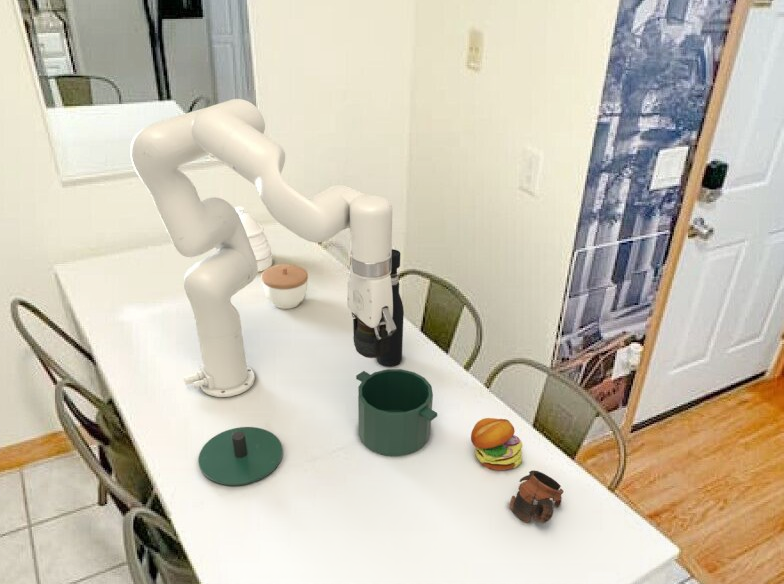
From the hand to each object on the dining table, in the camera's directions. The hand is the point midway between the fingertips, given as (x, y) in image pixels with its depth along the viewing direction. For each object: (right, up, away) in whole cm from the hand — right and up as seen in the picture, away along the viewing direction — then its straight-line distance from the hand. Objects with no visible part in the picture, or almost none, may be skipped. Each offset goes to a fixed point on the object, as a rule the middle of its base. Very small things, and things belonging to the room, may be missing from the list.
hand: (371, 342), depth 128 cm
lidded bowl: (-30, +13, +56) cm, 64 cm away
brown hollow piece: (+33, -33, -3) cm, 46 cm away
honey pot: (-45, +27, +74) cm, 91 cm away
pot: (+4, -19, +13) cm, 24 cm away
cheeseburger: (+26, -24, +9) cm, 36 cm away
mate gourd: (0, -2, +1) cm, 3 cm away
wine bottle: (+1, -3, +36) cm, 36 cm away
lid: (-27, -23, +3) cm, 36 cm away
